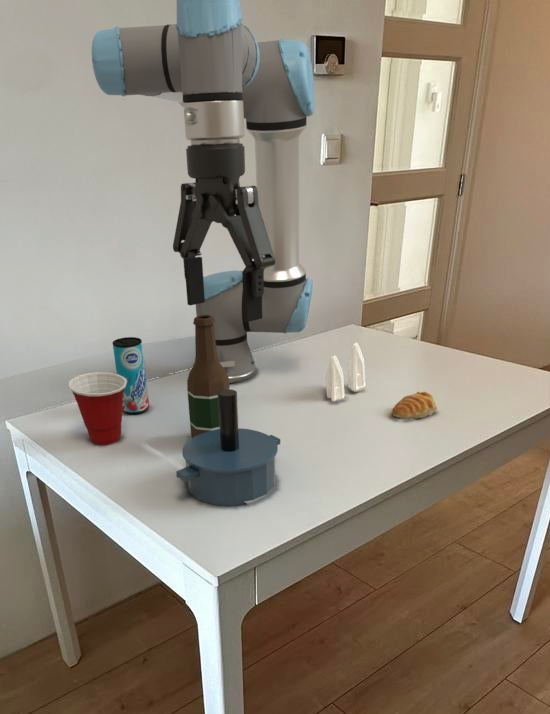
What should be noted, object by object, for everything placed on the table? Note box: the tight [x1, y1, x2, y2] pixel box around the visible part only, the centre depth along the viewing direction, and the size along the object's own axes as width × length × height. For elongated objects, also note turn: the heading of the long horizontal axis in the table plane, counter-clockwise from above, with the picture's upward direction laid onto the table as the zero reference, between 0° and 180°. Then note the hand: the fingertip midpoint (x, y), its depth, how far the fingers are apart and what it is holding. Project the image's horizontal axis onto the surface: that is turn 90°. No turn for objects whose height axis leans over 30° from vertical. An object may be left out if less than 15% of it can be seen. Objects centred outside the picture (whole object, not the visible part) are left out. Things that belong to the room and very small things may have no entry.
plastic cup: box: [67, 371, 127, 446], centre depth 121 cm, size 11×11×12 cm
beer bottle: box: [186, 315, 231, 439], centre depth 114 cm, size 8×8×24 cm
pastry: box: [392, 391, 438, 420], centre depth 128 cm, size 9×7×4 cm
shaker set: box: [325, 342, 367, 402], centre depth 137 cm, size 12×4×11 cm, turn 129°
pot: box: [175, 434, 281, 507], centre depth 105 cm, size 15×20×6 cm
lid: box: [181, 388, 279, 473], centre depth 101 cm, size 16×16×11 cm
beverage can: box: [112, 336, 150, 415], centre depth 132 cm, size 6×6×15 cm
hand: (223, 311), depth 92 cm, fingers open, 13 cm apart
